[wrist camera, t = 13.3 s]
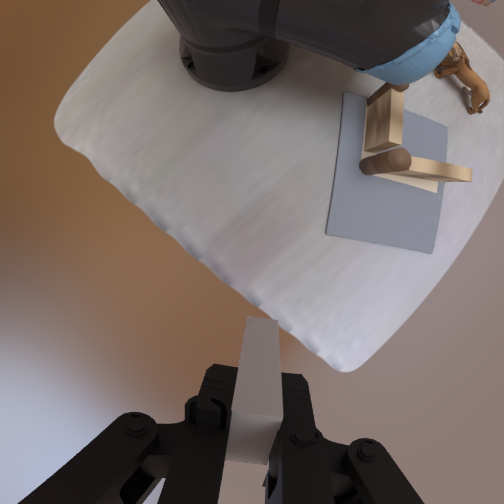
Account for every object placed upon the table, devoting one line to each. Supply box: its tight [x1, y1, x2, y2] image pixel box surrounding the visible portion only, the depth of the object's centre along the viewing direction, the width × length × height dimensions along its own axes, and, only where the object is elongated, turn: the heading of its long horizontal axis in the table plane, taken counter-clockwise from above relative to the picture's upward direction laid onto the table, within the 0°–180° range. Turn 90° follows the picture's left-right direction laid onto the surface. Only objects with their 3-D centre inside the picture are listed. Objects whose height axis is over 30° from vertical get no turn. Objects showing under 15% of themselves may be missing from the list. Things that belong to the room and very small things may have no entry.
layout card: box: [325, 92, 447, 254], centre depth 34 cm, size 20×18×1 cm
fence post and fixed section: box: [359, 82, 412, 175], centre depth 28 cm, size 12×2×11 cm, turn 172°
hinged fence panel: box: [382, 156, 472, 182], centre depth 29 cm, size 10×2×8 cm, turn 89°
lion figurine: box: [435, 41, 490, 114], centre depth 25 cm, size 15×5×9 cm, turn 61°
